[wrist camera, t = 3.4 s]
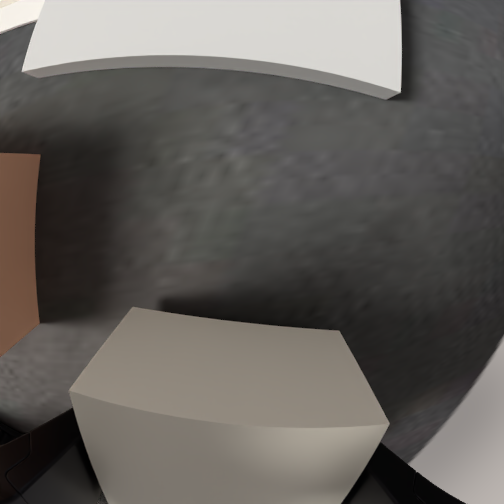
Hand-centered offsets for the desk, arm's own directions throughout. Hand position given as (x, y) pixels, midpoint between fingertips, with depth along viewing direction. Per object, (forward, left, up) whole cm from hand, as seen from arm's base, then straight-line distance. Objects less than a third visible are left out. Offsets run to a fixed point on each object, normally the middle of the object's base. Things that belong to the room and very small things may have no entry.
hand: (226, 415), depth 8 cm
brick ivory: (0, 0, -1) cm, 1 cm away
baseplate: (+15, +2, -2) cm, 15 cm away
